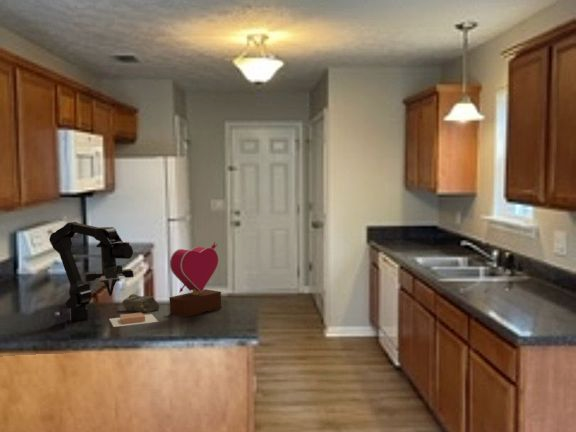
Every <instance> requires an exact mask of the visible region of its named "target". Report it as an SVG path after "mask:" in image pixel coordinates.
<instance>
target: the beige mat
mask: <svg viewBox="0 0 576 432" xmlns="http://www.w3.org/2000/svg"><path fill="white" fill-rule="evenodd" d="M143 315H144V316H145V321H142V322H134V323H125V324H123V323H122V321H121V320H120V317H115V318H114V317H113V318H109V319H108V320H109V321H110V323H111V325H112V327H113V328H117V327H118V328H119V327H125V326H136V325H142V324H151V323H159V321H158V319H157V318H156V317H155V316H154V315H153V314H152V313H150V314H143Z"/></svg>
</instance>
